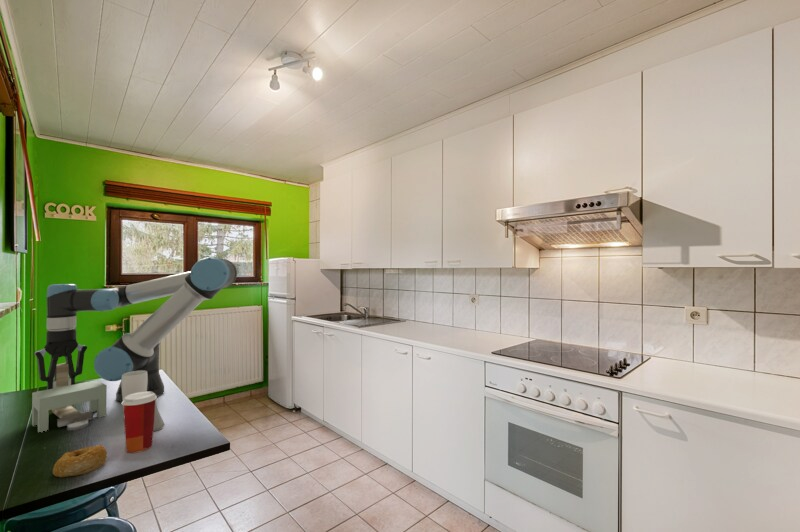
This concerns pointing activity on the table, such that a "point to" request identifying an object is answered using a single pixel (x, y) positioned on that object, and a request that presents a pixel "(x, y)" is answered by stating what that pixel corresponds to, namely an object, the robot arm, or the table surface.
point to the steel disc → (77, 424)
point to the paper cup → (139, 420)
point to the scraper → (68, 411)
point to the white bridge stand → (67, 400)
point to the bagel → (80, 461)
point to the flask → (157, 419)
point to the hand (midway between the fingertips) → (61, 398)
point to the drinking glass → (134, 383)
